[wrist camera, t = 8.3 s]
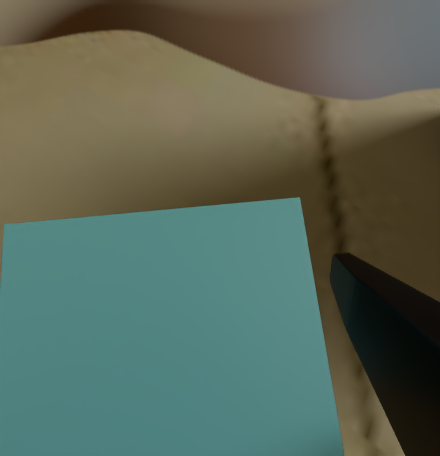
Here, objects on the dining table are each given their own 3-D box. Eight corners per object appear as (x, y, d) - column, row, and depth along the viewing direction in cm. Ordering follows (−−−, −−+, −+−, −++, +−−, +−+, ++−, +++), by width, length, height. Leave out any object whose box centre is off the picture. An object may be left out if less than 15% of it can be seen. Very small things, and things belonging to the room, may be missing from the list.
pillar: (250, 366, 17) (360, 544, 4) (157, 376, 17) (-19, 599, 4) (239, 273, 18) (299, 197, 5) (152, 281, 18) (3, 224, 5)
